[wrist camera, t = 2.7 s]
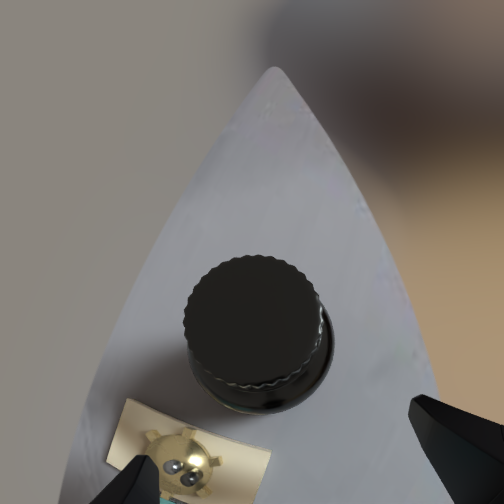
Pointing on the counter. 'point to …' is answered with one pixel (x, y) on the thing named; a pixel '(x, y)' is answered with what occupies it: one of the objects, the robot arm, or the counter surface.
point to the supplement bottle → (258, 335)
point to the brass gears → (181, 463)
